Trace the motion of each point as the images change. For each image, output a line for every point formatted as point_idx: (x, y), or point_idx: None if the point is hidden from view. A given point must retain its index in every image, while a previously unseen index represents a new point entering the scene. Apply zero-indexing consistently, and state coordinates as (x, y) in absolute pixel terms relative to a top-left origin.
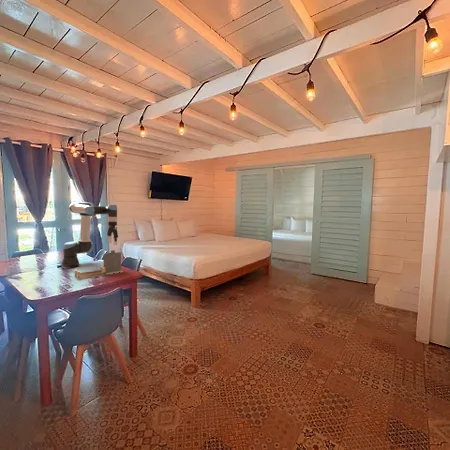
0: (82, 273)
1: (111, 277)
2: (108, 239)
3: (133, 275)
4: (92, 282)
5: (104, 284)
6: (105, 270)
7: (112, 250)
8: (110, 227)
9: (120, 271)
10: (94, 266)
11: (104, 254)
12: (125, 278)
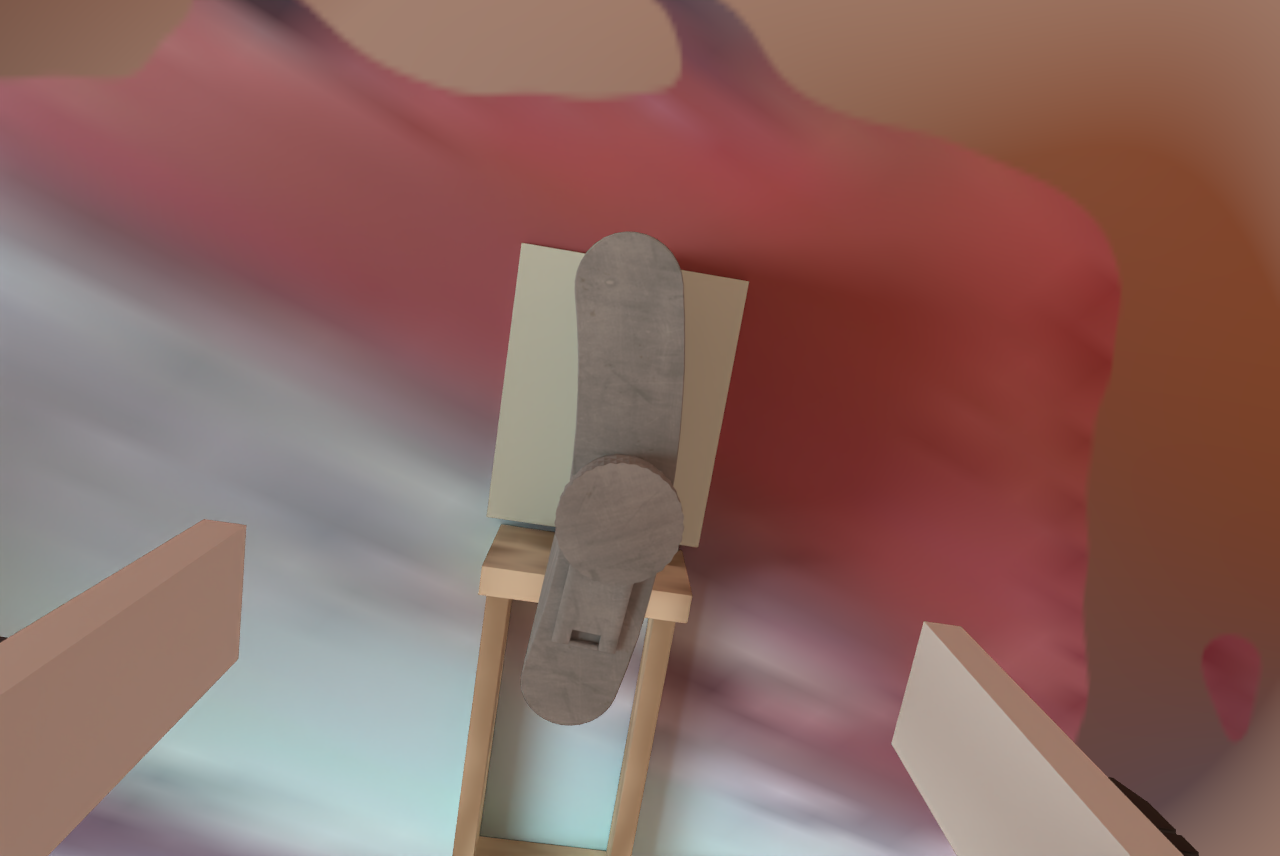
0: (482, 798)
1: (874, 562)
2: (116, 782)
3: (1049, 282)
4: (882, 813)
5: None
6: (688, 581)
7: (600, 532)
8: None
9: (713, 314)
10: (34, 431)
11: (594, 713)
12: (1077, 455)
